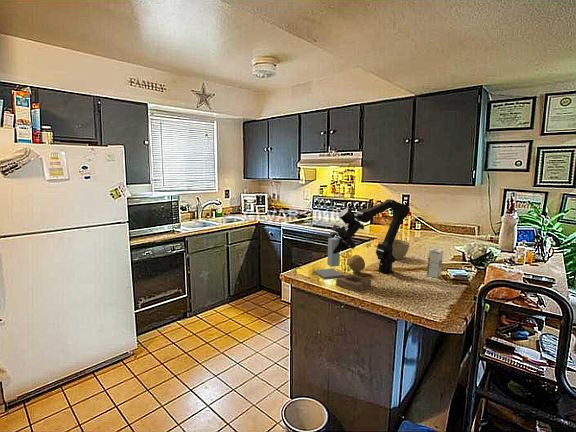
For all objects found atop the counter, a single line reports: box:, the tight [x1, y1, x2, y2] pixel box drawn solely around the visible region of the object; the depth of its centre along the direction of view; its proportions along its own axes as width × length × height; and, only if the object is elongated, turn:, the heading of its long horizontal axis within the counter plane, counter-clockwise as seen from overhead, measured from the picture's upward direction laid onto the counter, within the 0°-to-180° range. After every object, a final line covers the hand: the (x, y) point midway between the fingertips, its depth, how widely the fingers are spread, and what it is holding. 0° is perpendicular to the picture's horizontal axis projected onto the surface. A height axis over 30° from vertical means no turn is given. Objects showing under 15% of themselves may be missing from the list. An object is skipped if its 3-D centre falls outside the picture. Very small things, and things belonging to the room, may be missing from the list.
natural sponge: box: [347, 254, 366, 274], centre depth 179 cm, size 9×9×10 cm
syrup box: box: [426, 248, 444, 279], centre depth 175 cm, size 6×6×14 cm
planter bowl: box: [382, 238, 411, 261], centre depth 212 cm, size 16×16×11 cm
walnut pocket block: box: [335, 273, 372, 293], centre depth 158 cm, size 12×12×3 cm
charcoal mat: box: [312, 267, 345, 280], centre depth 175 cm, size 12×12×1 cm
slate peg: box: [326, 237, 341, 268], centre depth 168 cm, size 4×4×14 cm
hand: (331, 252), depth 168 cm, fingers closed on slate peg, 4 cm apart
